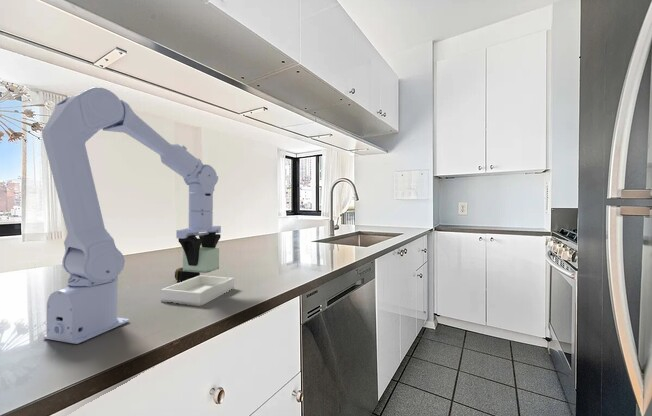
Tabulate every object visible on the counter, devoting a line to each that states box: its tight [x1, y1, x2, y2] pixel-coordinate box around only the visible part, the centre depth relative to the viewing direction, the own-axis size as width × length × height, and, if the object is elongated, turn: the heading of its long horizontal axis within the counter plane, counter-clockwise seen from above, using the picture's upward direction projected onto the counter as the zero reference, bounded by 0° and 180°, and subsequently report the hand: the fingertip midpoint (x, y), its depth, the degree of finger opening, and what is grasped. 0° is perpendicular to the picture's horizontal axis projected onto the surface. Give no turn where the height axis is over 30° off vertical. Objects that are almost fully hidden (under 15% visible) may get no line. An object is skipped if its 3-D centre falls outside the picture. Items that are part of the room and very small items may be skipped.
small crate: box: [182, 246, 220, 274], centre depth 72 cm, size 5×7×6 cm
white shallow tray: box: [160, 274, 235, 307], centre depth 72 cm, size 14×11×3 cm
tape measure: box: [174, 267, 201, 282], centre depth 86 cm, size 7×7×4 cm
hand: (200, 263), depth 72 cm, fingers closed on small crate, 5 cm apart
